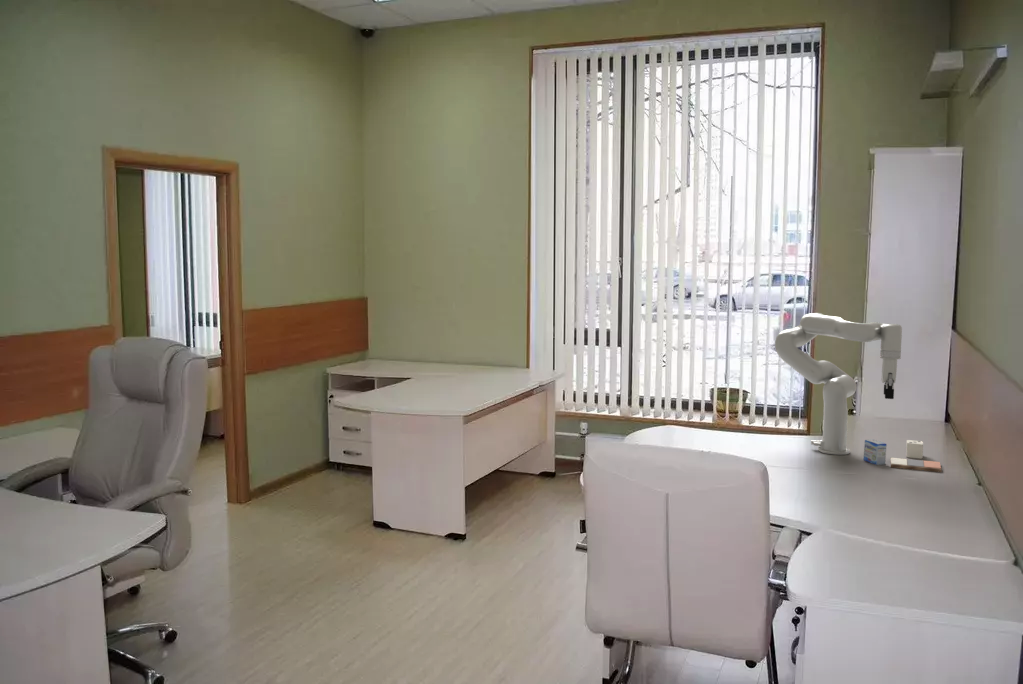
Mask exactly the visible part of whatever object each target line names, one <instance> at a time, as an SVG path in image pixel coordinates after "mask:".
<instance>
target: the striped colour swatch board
mask: <svg viewBox="0 0 1023 684" xmlns="http://www.w3.org/2000/svg"><path fill="white" fill-rule="evenodd" d="M941 466H942V465H941V462H940V461H933V460H923V459H914V458H911V459H910V458H899V457H890V468H893V469H901V468H903V469H902V470H912V469H913V471H922V470H924V471H923V472H934V473H942V467H941Z"/></svg>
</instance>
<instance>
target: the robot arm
mask: <svg viewBox="0 0 1023 684" xmlns="http://www.w3.org/2000/svg"><path fill="white" fill-rule="evenodd" d="M902 332H903V327H902V325H900V324H898V323H883V322H878V321H877V322H876V321H871V322H866V323H863V322H862V323H861V322H853V321H848V320H844V319H843V318H842V317H840V316H833V315H825V314H823V313H821V312H813V313H806V314H804V315H803V316H802V317H801V318H800V321H799V325H797V326H796V327H794V328H787V329H784V330H782V331H781V332H779V333H778V334H777V336H776V338H775V343H774V346H775V350H776V353H777V355H778V356H779V358H780V359H781V360H782V361H783V362H784V363H786V364H787V365H788V366H789V367H791V368H792V369H793V370H794V371H796V372H797V373H798V374H800V375H801V376H802V377H803V378H805V380H807V381H808V382H810V383H811V384H813V385H821V384H824V385H823V387H822V398H823V418H822V419H823V420H822V421H823V422H822V423H823V424H822V438H821V439H820V440H815V439H811V440H810V441H811V442H810V444H811V445H813V446H814V447H815V446H818V448H817V449H818V452H820V453H823V454H826V455H836V456H843V455H848V454H850V452H851V449H850V448H847V437H848V436H847V435H848V415H849V414H848V413H849V411H848V409H849V408H848V401H847V398H850V397H851V396H854V394H855V392H856V391H857V383H856V381H855V380H854V378H852V376H850V375H849V374H848V373H847V372H846V371H844V370H842V369H841V368H839V366H837V365H836V364H835V363H833V362H831V361H829V360H824V359H823V360H817V359H815V358H813V357H811V356H810V355H809V354H808V353H806V352H805V351H803V350H801V349H800V347H802V346H803V347H804V346H805V345H807V344H808V343H810V341H812V340H814V338H816V337H817V336H825V337H832V338H837V339H842V340H846V341H852V342H861V343H870V342H873V341H880V356H879V357H880V359H882V364H881V380H880V381H881V382H882V383H883V395H884V399H887V400H888V399H889V400H894V397H895V386H894V384H896V380H897V379H896V378H897V371H898V370H897V369H898V360H900V359H901V358H902V357H901V354H902V337H903V335H902V334H903V333H902Z"/></svg>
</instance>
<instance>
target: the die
mask: <svg viewBox="0 0 1023 684" xmlns="http://www.w3.org/2000/svg"><path fill="white" fill-rule="evenodd" d="M905 448H906V450H905V455H906V456H905V458H908V459H910V458H911V459H919V460H923V454H924V451H923V450H924V442H923V441H922V440H911V439H906V447H905Z"/></svg>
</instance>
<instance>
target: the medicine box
mask: <svg viewBox="0 0 1023 684" xmlns="http://www.w3.org/2000/svg"><path fill="white" fill-rule="evenodd" d="M863 445H864V446H863V461H864V462H866V463H870V464H872V465H875V466H883V465H886V460H887V457H886V456H887V446H888V445H887V443H886V442H882V441H879V440H877V439H876V440H875V439H865V440H864V444H863Z"/></svg>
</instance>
